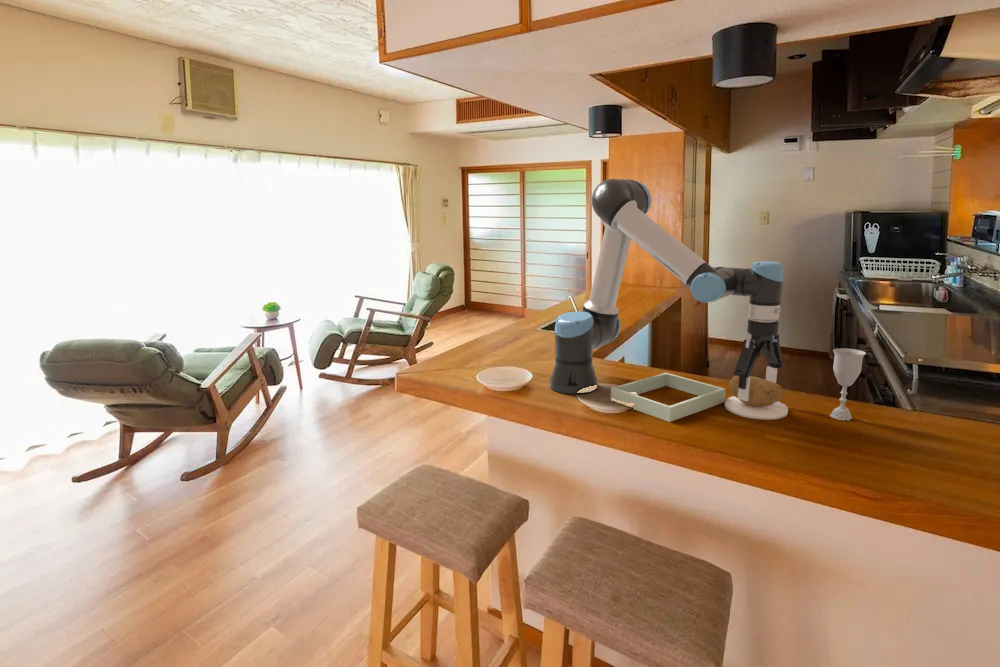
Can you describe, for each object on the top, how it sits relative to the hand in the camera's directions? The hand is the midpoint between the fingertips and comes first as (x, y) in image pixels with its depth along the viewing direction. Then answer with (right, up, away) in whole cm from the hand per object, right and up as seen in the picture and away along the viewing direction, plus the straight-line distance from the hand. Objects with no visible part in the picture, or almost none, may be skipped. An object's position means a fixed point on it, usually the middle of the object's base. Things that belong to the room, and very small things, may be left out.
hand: (756, 394), depth 152 cm
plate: (0, -4, +1) cm, 4 cm away
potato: (0, -3, +1) cm, 3 cm away
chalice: (+20, -5, -6) cm, 21 cm away
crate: (-22, -3, +8) cm, 24 cm away
